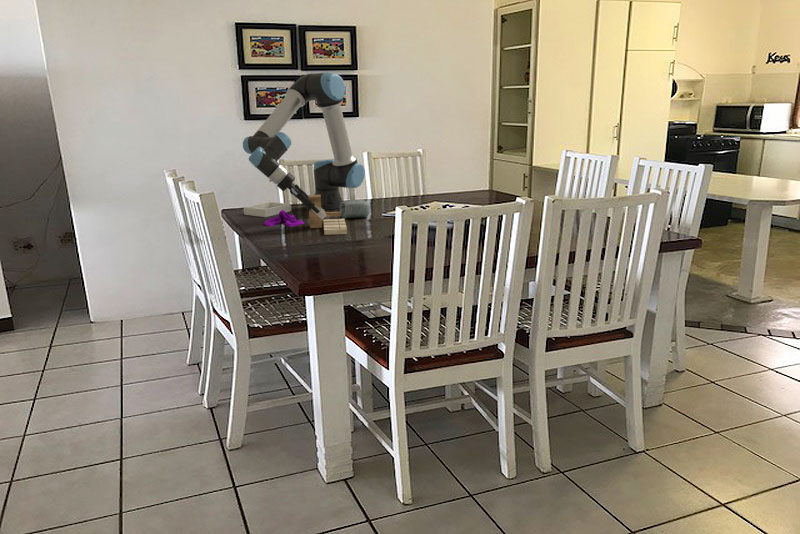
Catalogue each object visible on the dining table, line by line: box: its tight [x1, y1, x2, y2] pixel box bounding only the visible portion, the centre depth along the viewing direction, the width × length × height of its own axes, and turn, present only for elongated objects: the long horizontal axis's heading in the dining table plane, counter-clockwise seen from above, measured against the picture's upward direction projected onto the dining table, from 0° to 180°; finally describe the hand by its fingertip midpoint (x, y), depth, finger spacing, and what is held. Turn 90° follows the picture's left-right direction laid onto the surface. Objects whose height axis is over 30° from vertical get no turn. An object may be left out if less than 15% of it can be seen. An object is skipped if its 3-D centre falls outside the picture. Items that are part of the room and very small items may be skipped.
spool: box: [339, 199, 371, 220], centre depth 282 cm, size 14×10×10 cm
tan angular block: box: [307, 194, 342, 229], centre depth 264 cm, size 5×13×13 cm, turn 97°
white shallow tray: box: [243, 201, 292, 218], centre depth 298 cm, size 17×14×4 cm
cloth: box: [263, 210, 305, 228], centre depth 276 cm, size 22×19×6 cm
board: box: [322, 218, 348, 236], centre depth 260 cm, size 22×9×2 cm, turn 8°
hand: (324, 216), depth 265 cm, fingers closed on tan angular block, 5 cm apart
